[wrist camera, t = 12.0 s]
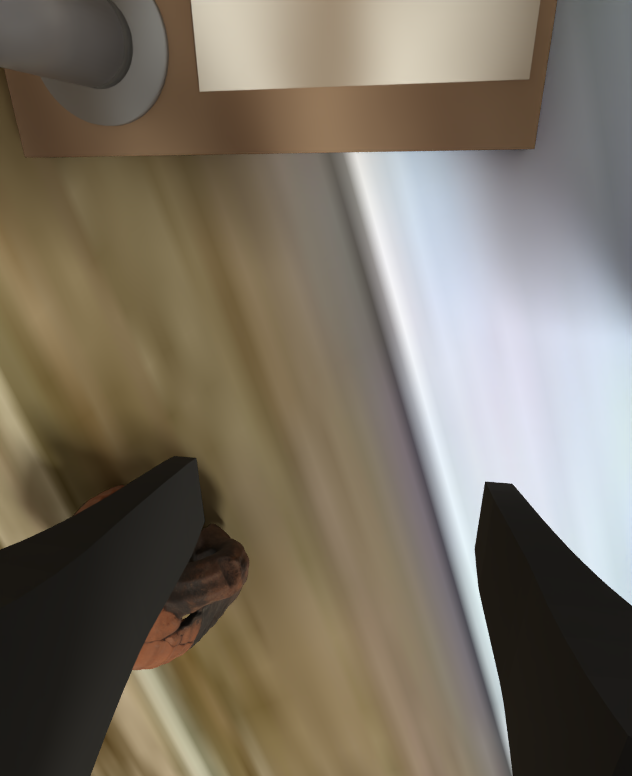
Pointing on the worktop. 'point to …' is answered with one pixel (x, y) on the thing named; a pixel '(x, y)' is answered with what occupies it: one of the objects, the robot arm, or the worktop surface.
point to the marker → (66, 40)
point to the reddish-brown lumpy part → (193, 594)
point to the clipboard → (303, 80)
